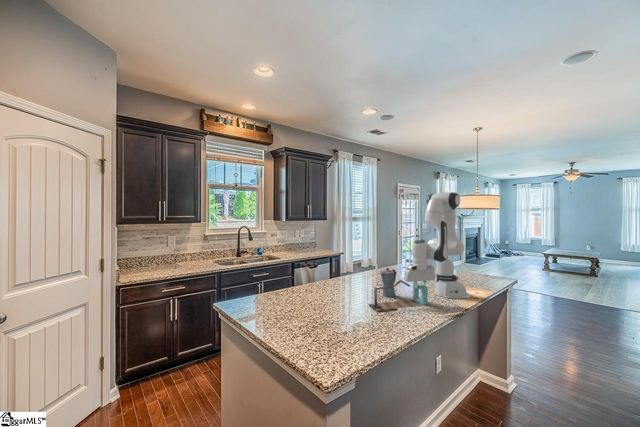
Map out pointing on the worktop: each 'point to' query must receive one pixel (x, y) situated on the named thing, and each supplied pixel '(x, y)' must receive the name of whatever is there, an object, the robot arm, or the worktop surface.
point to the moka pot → (388, 282)
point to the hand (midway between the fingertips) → (420, 287)
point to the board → (396, 305)
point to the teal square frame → (424, 294)
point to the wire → (383, 288)
